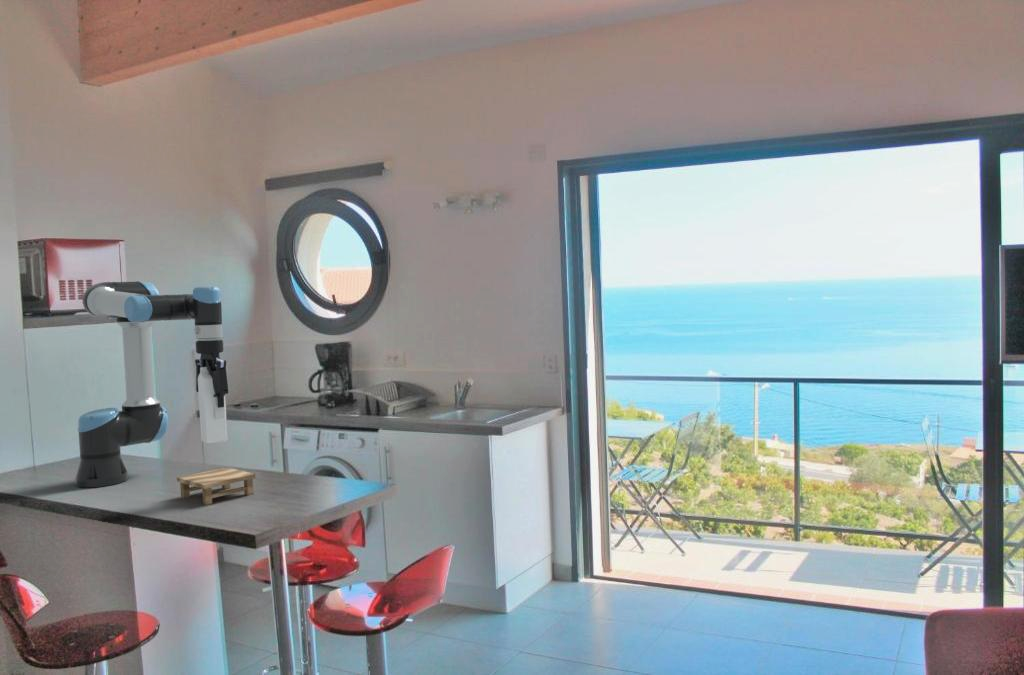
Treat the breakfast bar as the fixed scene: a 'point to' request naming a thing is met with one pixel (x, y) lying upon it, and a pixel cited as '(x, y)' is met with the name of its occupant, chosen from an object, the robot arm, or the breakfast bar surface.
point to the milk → (209, 411)
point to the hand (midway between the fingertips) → (213, 417)
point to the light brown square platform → (216, 483)
